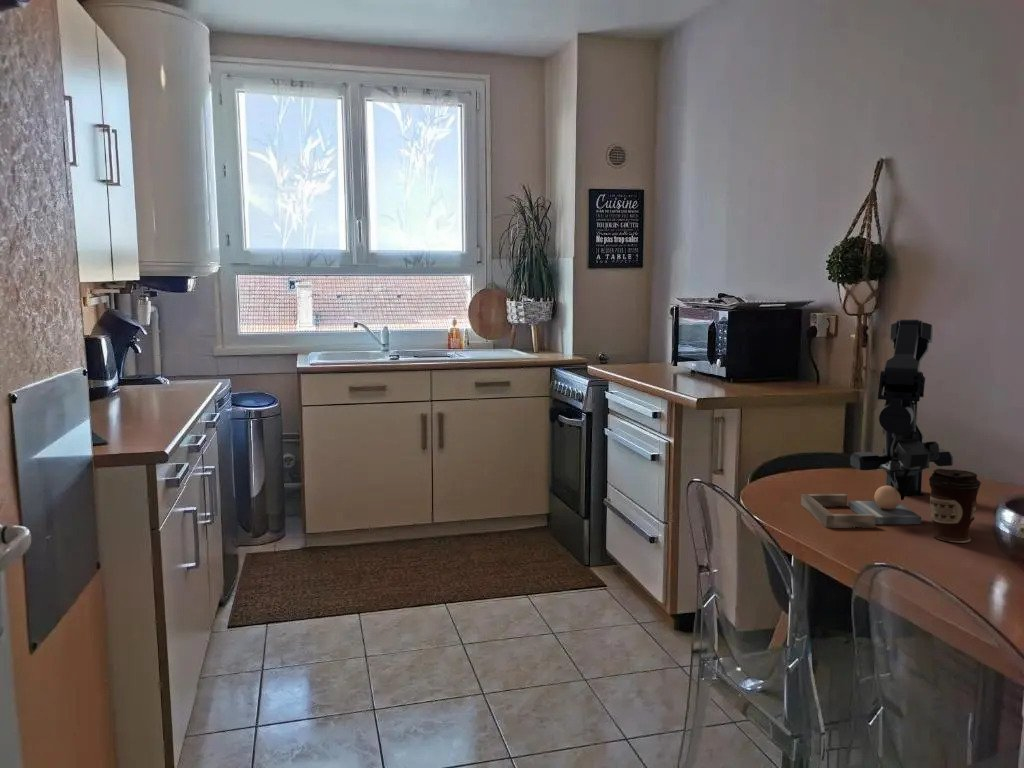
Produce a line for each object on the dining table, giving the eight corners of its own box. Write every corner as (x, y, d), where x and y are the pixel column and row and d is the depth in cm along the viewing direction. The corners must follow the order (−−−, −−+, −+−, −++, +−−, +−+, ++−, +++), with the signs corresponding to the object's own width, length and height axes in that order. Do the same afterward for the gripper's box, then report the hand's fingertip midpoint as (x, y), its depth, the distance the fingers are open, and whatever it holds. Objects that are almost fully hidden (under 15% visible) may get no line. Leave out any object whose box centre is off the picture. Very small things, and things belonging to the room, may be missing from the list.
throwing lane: (891, 504, 171) (891, 493, 170) (926, 527, 154) (926, 515, 154) (801, 505, 172) (801, 494, 172) (826, 527, 156) (826, 515, 155)
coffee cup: (957, 548, 142) (961, 479, 140) (916, 536, 149) (918, 470, 148) (986, 540, 146) (990, 473, 144) (944, 529, 153) (947, 464, 152)
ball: (898, 497, 165) (887, 478, 164) (909, 505, 160) (898, 485, 159) (877, 509, 165) (866, 490, 165) (887, 517, 160) (876, 497, 160)
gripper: (870, 434, 153) (872, 511, 154) (967, 429, 152) (968, 507, 153) (848, 426, 164) (850, 498, 165) (938, 421, 163) (939, 493, 164)
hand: (901, 499), depth 162 cm, fingers closed, pressing on ball
